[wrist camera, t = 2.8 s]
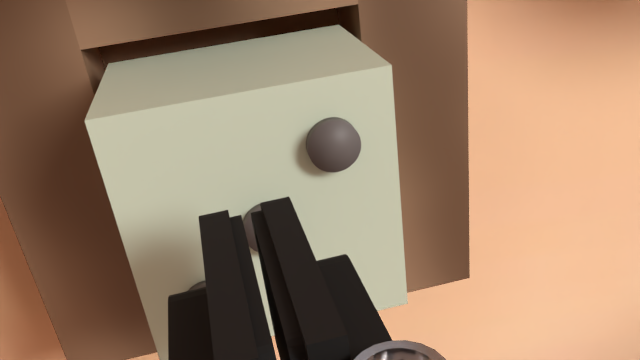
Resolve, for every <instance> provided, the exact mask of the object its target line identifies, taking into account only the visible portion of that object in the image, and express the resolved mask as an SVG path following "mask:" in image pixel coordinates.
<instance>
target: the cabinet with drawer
mask: <svg viewBox="0 0 640 360" xmlns="http://www.w3.org/2000/svg"><path fill="white" fill-rule="evenodd" d="M332 8H337V10H338V20H339V25H340V26H341V27H343V28H344V29H345V30H347V31H348V32H349V33H351V34H352V35H353V36H354V37H356V38H357V39H358V40H360V41H361V42H362V43H364V44H365V45H366V46H368V47H369V48H370V49H371V50H373V51H374V52H375V53H377V54H378V55H379V56H381V57H382V58H383V59H385V60H386V61H387V62H388V63H390V64H391V65H392V77H393V92H394V107H395V122H396V137H397V151H398V166H399V181H400V196H401V211H402V226H403V241H404V256H405V271H406V286H407V293H408V292H412V291H416V290H420V289H425V288H429V287H433V286H437V285H441V284H446V283H450V282H454V281H458V280H462V279H467V278H469V169H468V54H467V0H0V197H1V199H2V202H3V204H4V207H5V209H6V211H7V214H8V216H9V219H10V221H11V224H12V226H13V229H14V231H15V234H16V236H17V238H18V241H19V243H20V246H21V248H22V251H23V253H24V256H25V258H26V261H27V263H28V265H29V268H30V270H31V273H32V275H33V278H34V280H35V283H36V285H37V287H38V290H39V292H40V295H41V297H42V300H43V302H44V305H45V307H46V310H47V312H48V314H49V317H50V319H51V322H52V324H53V327H54V329H55V332H56V334H57V337H58V339H59V341H60V344H61V346H62V349H63V351H64V354H65V356H66V359H67V360H126V359H130V358H134V357H139V356H143V355H147V354H151V353H155V352H157V349H156V346H155V343H154V340H153V336H152V333H151V330H150V327H149V324H148V321H147V317H146V314H145V311H144V308H143V305H142V302H141V298H140V295H139V292H138V289H137V286H136V283H135V279H134V276H133V273H132V270H131V267H130V264H129V260H128V257H127V254H126V251H125V248H124V245H123V241H122V238H121V235H120V232H119V229H118V226H117V222H116V219H115V216H114V213H113V210H112V207H111V204H110V200H109V197H108V194H107V191H106V188H105V185H104V181H103V178H102V175H101V172H100V169H99V166H98V162H97V159H96V156H95V153H94V150H93V147H92V143H91V140H90V137H89V134H88V131H87V128H86V124H85V121H84V120H85V118H86V115H87V113H88V111H89V108H90V106H91V104H92V101H93V99H94V96H95V94H96V92H97V89H98V87H99V85H100V82H101V80H102V77H103V75H104V73H105V69H104V66H103V62H102V59H101V55H100V52H99V48H98V47H101V46H107V45H113V44H119V43H125V42H131V41H137V40H143V39H149V38H155V37H161V36H168V35H174V34H180V33H186V32H192V31H198V30H204V29H210V28H216V27H222V26H228V25H234V24H240V23H246V22H253V21H259V20H265V19H271V18H277V17H283V16H289V15H295V14H301V13H307V12H313V11H319V10H325V9H332Z"/></svg>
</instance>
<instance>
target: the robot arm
mask: <svg viewBox="0 0 640 360" xmlns="http://www.w3.org/2000/svg"><path fill="white" fill-rule="evenodd" d="M260 206H261V211H256V212H252V213H251V219H252V224H253V229H254V234H255V239H256V244H257V249H258V254H259V259H260V265H261V270H262V275H263V280H264V285H265V290H266V295H267V300H268V305H269V310H270V315H271V320H272V325H273V330H274V335H275V339H276V344H277V348H278V352H279V356H280V360H446V359H445V358H444V357H443V356H441V355H440V354H439V353H438V352H437V351H436V350H434V349H432V348H430V347H428V346H425V345H423V344H421V343H416V342H411V341H406V340H403V341H392V339H391V337H390V335H389V333H388V331H387V329H386V328H385V326H384V324H383V322H382V320H381V318H380V316H379V314H378V312H377V310H376V308H375V306H374V304H373V302H372V301H371V299H370V297H369V295H368V293H367V291H366V289H365V287H364V285H363V283H362V281H361V279H360V277H359V275H358V273H357V272H356V270H355V268H354V266H353V264H352V262H351V260H350V258H349V257H348V255H346V254H343V255H339V256H335V257H330V258H326V259H322V260H318V261H316V259H315V256H314V254H313V251H312V249H311V247H310V244H309V242H308V240H307V237H306V235H305V232H304V230H303V228H302V225H301V223H300V221H299V218H298V216H297V214H296V211H295V209H294V206H293V204H292V202H291V199H290V197H284V198H280V199H275V200H271V201H266V202H261V203H260ZM199 226H200V235H201V245H202V254H203V263H204V272H205V282H206V287H203V288H199V289H195V290H190V291H186V292H182V293H178V294H173V295H169V297H168V360H276V356H275V351H274V347H273V343H272V338H271V334H270V330H269V326H268V322H267V318H266V314H265V310H264V306H263V302H262V298H261V294H260V289H259V285H258V281H257V277H256V273H255V269H254V265H253V261H252V257H251V253H250V249H249V244H248V240H247V236H246V232H245V228H244V224H243V220H242V216H241V215H238V216H233V217H229V212H228V210H225V211H220V212H215V213H211V214H206V215H201V216H199Z"/></svg>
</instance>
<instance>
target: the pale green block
mask: <svg viewBox="0 0 640 360" xmlns="http://www.w3.org/2000/svg"><path fill="white" fill-rule="evenodd" d="M84 121H85V124H86V128H87V131H88V134H89V137H90V140H91V143H92V147H93V150H94V153H95V156H96V159H97V162H98V166H99V169H100V172H101V175H102V178H103V181H104V185H105V188H106V191H107V194H108V197H109V200H110V204H111V207H112V210H113V213H114V216H115V219H116V222H117V226H118V229H119V232H120V235H121V238H122V241H123V245H124V248H125V251H126V254H127V257H128V260H129V264H130V267H131V270H132V273H133V276H134V279H135V283H136V286H137V289H138V292H139V295H140V298H141V302H142V305H143V308H144V311H145V314H146V317H147V321H148V324H149V327H150V330H151V333H152V336H153V340H154V343H155V346H156V349H157V352H158V355H159V359H160V360H168V297H169V295H173V294H178V293H182V292H186V291H190V290H195V289H199V288H203V287H206V282H205V272H204V263H203V254H202V245H201V235H200V226H199V216H201V215H206V214H211V213H215V212H220V211H225V210H228V212H229V217H233V216H238V215H241V216H242V220H243V224H244V228H245V232H246V236H247V240H248V244H249V249H250V253H251V257H252V261H253V265H254V269H255V273H256V277H257V281H258V285H259V289H260V294H261V298H262V302H263V306H264V310H265V314H266V318H267V322H268V326H269V330H270V334H271V336H275V335H274V330H273V325H272V320H271V315H270V310H269V305H268V300H267V295H266V290H265V285H264V280H263V275H262V270H261V265H260V259H259V254H258V249H257V244H256V239H255V234H254V229H253V224H252V219H251V213H252V212H256V211H261V206H260V203H261V202H266V201H271V200H275V199H280V198H284V197H290V199H291V202H292V204H293V206H294V209H295V211H296V214H297V216H298V218H299V221H300V223H301V225H302V228H303V230H304V232H305V235H306V237H307V240H308V242H309V244H310V247H311V249H312V251H313V254H314V256H315V259H316V261H318V260H322V259H326V258H330V257H335V256H339V255H343V254H346V255H348V257H349V258H350V260H351V262H352V264H353V266H354V268H355V270H356V272H357V273H358V275H359V277H360V279H361V281H362V283H363V285H364V287H365V289H366V291H367V293H368V295H369V297H370V299H371V301H372V302H373V304H374V306H375V308H376V310H377V311H379V310H383V309H387V308H391V307H395V306H400V305H404V304H408V301H407V286H406V271H405V256H404V241H403V226H402V211H401V196H400V181H399V166H398V151H397V137H396V122H395V107H394V92H393V77H392V65H391V64H390V63H388V62H387V61H386V60H385V59H383V58H382V57H381V56H379V55H378V54H377V53H375V52H374V51H373V50H371V49H370V48H369V47H368V46H366V45H365V44H364V43H362V42H361V41H360V40H358V39H357V38H356V37H354V36H353V35H352V34H351V33H349V32H348V31H347V30H345V29H344V28H343V27H341V26H340V25H333V26H327V27H321V28H315V29H309V30H303V31H298V32H292V33H286V34H280V35H274V36H268V37H262V38H256V39H250V40H244V41H238V42H232V43H227V44H221V45H215V46H209V47H203V48H197V49H191V50H185V51H179V52H173V53H167V54H161V55H155V56H150V57H144V58H138V59H132V60H126V61H120V62H114V63H108V66H107V68H106V70H105V73H104V75H103V77H102V80H101V82H100V85H99V87H98V89H97V92H96V94H95V96H94V99H93V101H92V104H91V106H90V108H89V111H88V113H87V115H86V118H85V120H84Z"/></svg>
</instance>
